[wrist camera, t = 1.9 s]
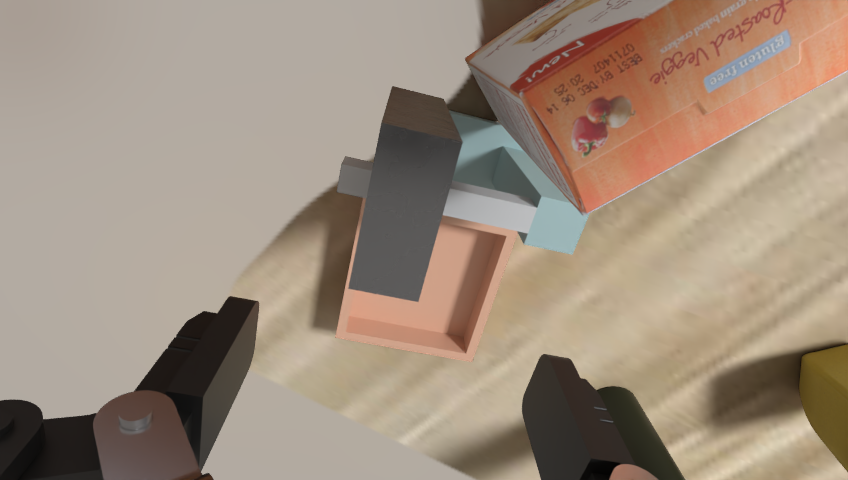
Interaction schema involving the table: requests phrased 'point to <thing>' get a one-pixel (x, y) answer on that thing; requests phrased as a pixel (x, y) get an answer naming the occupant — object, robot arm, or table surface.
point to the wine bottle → (639, 434)
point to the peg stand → (494, 187)
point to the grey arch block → (405, 195)
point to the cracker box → (650, 81)
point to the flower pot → (827, 397)
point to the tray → (435, 295)
